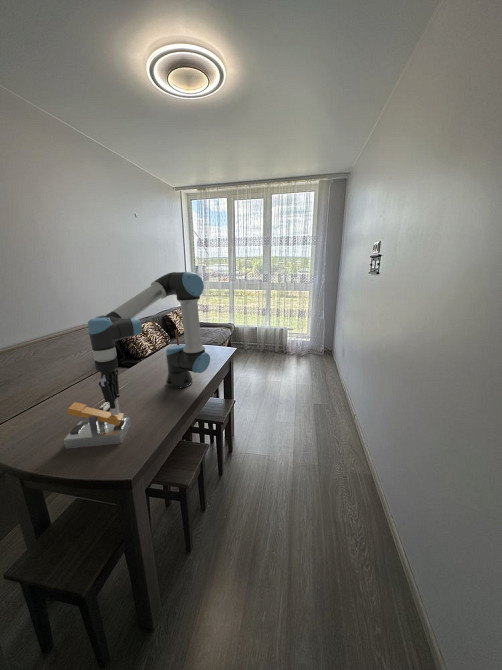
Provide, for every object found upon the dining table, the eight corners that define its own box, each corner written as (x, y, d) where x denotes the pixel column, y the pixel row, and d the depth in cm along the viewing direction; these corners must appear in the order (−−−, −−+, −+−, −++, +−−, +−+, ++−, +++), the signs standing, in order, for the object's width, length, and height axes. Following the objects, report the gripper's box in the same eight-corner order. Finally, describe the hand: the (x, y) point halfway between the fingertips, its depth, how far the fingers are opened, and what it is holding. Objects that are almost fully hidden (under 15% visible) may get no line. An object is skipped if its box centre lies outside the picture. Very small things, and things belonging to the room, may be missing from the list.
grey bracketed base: (130, 425, 110) (127, 402, 108) (121, 443, 99) (117, 418, 96) (81, 429, 108) (76, 406, 105) (65, 448, 96) (59, 423, 93)
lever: (122, 418, 105) (124, 413, 105) (118, 425, 101) (120, 420, 100) (73, 407, 101) (74, 402, 101) (66, 414, 97) (68, 408, 96)
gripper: (102, 353, 101) (111, 406, 107) (86, 365, 89) (98, 424, 95) (122, 352, 103) (130, 404, 108) (109, 364, 90) (119, 422, 96)
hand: (115, 413), depth 102 cm, fingers closed
